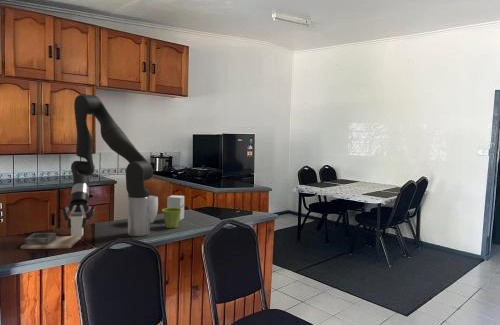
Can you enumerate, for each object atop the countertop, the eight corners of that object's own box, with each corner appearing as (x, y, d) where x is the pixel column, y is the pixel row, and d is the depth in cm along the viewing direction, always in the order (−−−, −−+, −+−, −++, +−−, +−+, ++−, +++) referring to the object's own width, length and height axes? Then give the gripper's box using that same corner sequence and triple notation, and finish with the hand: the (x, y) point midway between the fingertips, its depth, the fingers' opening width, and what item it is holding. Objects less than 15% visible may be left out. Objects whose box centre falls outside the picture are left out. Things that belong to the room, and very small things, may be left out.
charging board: (80, 238, 162) (80, 230, 162) (69, 248, 149) (69, 239, 148) (36, 238, 160) (36, 230, 160) (20, 248, 146) (20, 239, 146)
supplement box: (179, 221, 199) (180, 197, 198) (166, 220, 200) (166, 197, 199) (184, 218, 206) (184, 195, 205) (171, 217, 207) (171, 194, 206)
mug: (140, 227, 184) (141, 200, 183) (125, 224, 190) (125, 198, 189) (162, 221, 197) (162, 196, 196) (146, 218, 203) (146, 194, 202)
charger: (83, 233, 170) (83, 211, 169) (82, 236, 165) (82, 213, 165) (72, 234, 168) (72, 212, 168) (70, 237, 164) (70, 214, 163)
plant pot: (175, 230, 181) (175, 212, 181) (158, 227, 184) (158, 210, 184) (184, 225, 190) (185, 208, 189) (168, 223, 193) (168, 207, 192)
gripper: (62, 190, 170) (57, 223, 160) (96, 190, 175) (93, 222, 164) (63, 200, 176) (59, 232, 165) (96, 199, 180) (94, 231, 170)
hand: (76, 227), depth 165 cm, fingers closed on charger, 4 cm apart
